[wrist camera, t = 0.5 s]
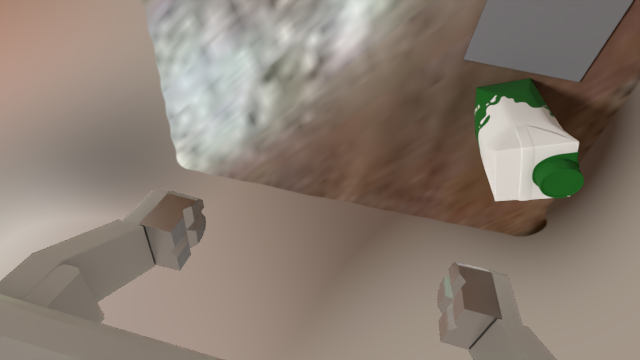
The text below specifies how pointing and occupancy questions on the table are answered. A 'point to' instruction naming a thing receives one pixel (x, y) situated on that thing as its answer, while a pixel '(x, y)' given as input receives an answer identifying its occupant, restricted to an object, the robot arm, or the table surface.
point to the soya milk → (524, 144)
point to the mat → (545, 34)
